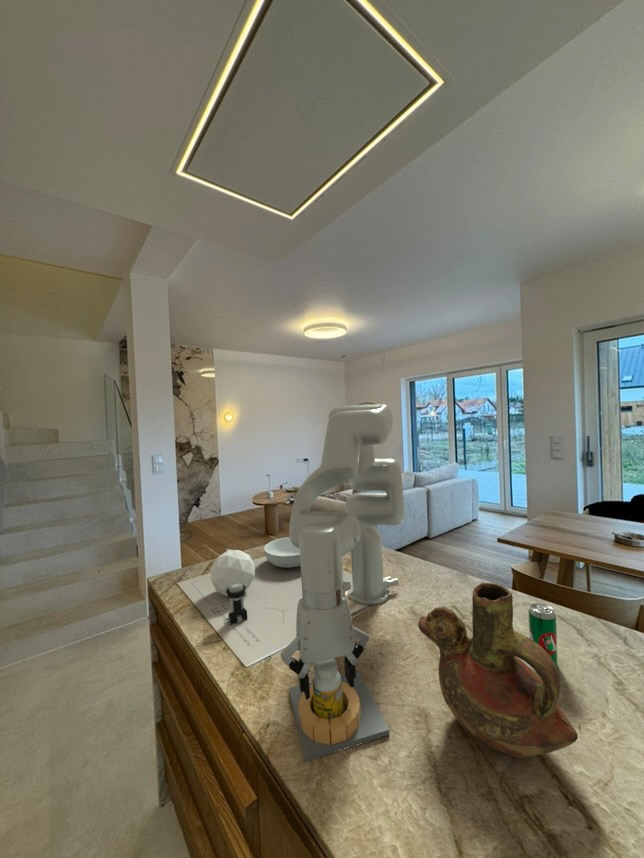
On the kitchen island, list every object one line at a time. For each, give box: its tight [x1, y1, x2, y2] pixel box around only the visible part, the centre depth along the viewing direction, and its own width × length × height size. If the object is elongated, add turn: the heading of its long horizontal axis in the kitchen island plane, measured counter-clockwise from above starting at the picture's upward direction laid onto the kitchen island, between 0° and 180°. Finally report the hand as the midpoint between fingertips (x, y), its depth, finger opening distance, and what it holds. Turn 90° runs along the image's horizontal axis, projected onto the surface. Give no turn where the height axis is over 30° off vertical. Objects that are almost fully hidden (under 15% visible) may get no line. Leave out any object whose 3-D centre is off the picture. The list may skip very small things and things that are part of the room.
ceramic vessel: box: [417, 582, 578, 759], centre depth 61 cm, size 17×26×25 cm, turn 45°
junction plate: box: [288, 669, 391, 762], centre depth 66 cm, size 15×15×1 cm
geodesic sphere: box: [210, 547, 256, 597], centre depth 114 cm, size 15×14×14 cm
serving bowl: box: [263, 536, 301, 569], centre depth 135 cm, size 21×21×7 cm
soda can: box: [528, 602, 559, 667], centre depth 75 cm, size 5×5×12 cm
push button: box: [223, 582, 248, 625], centre depth 97 cm, size 7×5×10 cm
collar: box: [298, 682, 361, 745], centre depth 64 cm, size 11×11×2 cm
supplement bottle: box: [312, 658, 344, 720], centre depth 64 cm, size 5×5×10 cm
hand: (328, 687), depth 64 cm, fingers open, 7 cm apart
